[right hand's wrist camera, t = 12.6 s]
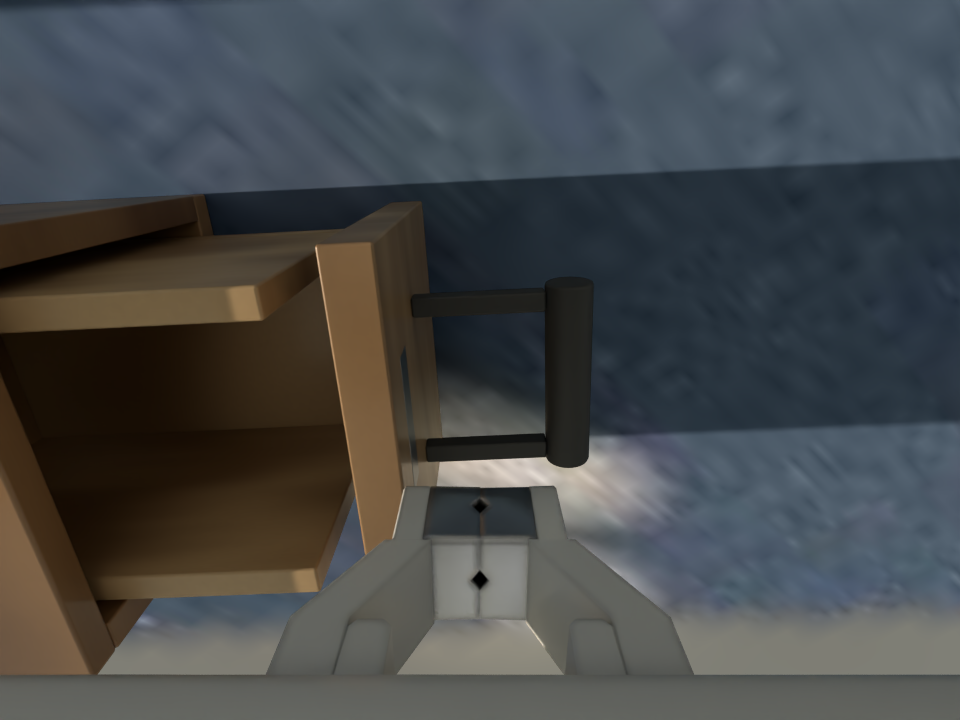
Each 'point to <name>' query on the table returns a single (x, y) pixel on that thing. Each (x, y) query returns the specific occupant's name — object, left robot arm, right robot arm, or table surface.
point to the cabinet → (17, 475)
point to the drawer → (255, 397)
